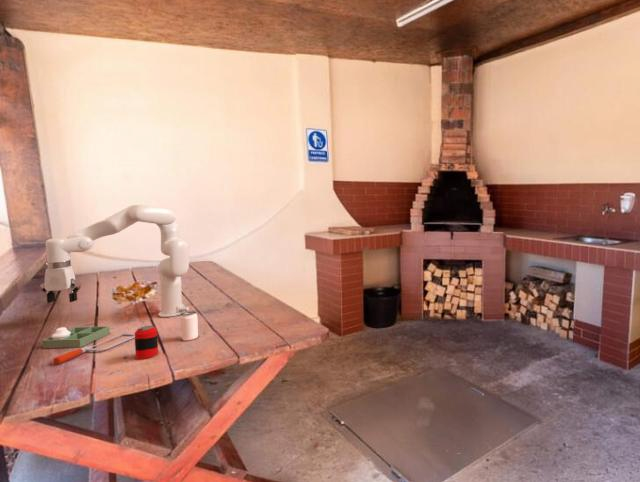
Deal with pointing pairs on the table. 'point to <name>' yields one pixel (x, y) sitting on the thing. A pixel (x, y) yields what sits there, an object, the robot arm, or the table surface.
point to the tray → (77, 337)
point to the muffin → (61, 334)
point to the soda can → (146, 342)
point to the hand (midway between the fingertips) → (62, 301)
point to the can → (189, 326)
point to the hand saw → (79, 351)
